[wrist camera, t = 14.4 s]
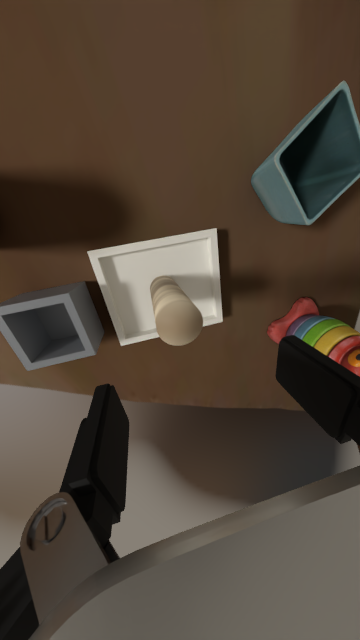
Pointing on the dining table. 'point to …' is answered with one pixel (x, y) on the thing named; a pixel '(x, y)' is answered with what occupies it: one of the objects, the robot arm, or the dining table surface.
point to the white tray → (149, 263)
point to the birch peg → (174, 312)
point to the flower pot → (312, 162)
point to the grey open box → (51, 325)
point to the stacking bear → (320, 333)
